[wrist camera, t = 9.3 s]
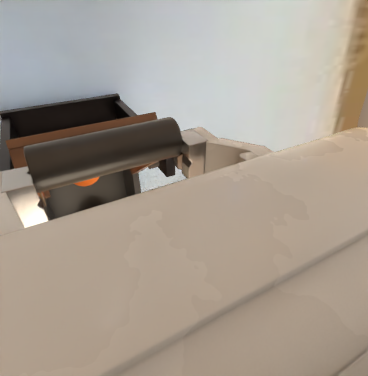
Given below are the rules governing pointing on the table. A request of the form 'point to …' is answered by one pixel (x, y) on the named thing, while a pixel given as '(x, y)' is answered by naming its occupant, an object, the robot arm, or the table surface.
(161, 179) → the table surface
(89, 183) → the orange ball
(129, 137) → the brown tilting tray
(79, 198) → the basket
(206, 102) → the table surface
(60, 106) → the stand
